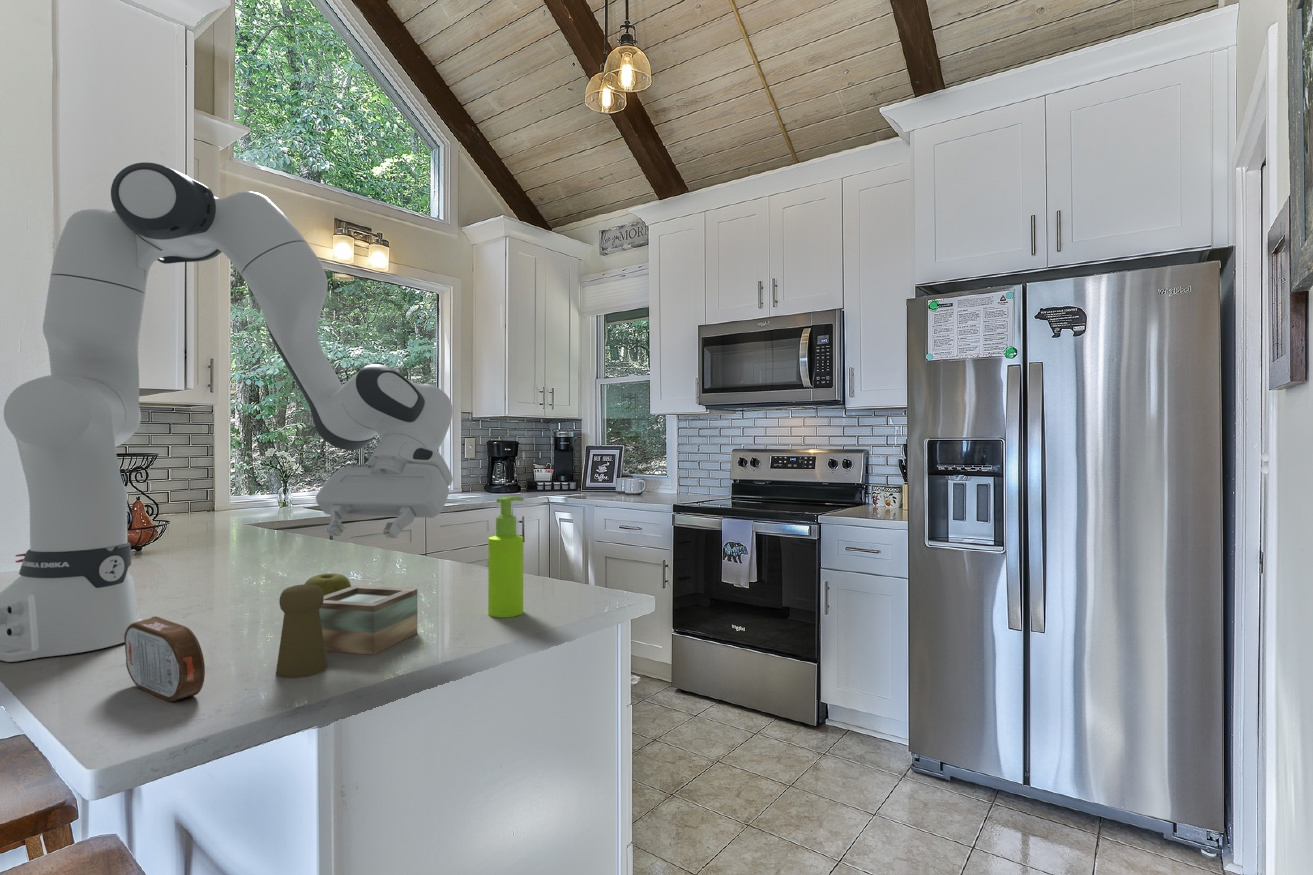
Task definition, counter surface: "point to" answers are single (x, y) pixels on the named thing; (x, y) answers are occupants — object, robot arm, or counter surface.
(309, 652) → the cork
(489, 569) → the soap dispenser
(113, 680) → the counter surface
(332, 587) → the apple
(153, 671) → the tin
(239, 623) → the counter surface
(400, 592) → the brown wooden square box
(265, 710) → the counter surface
